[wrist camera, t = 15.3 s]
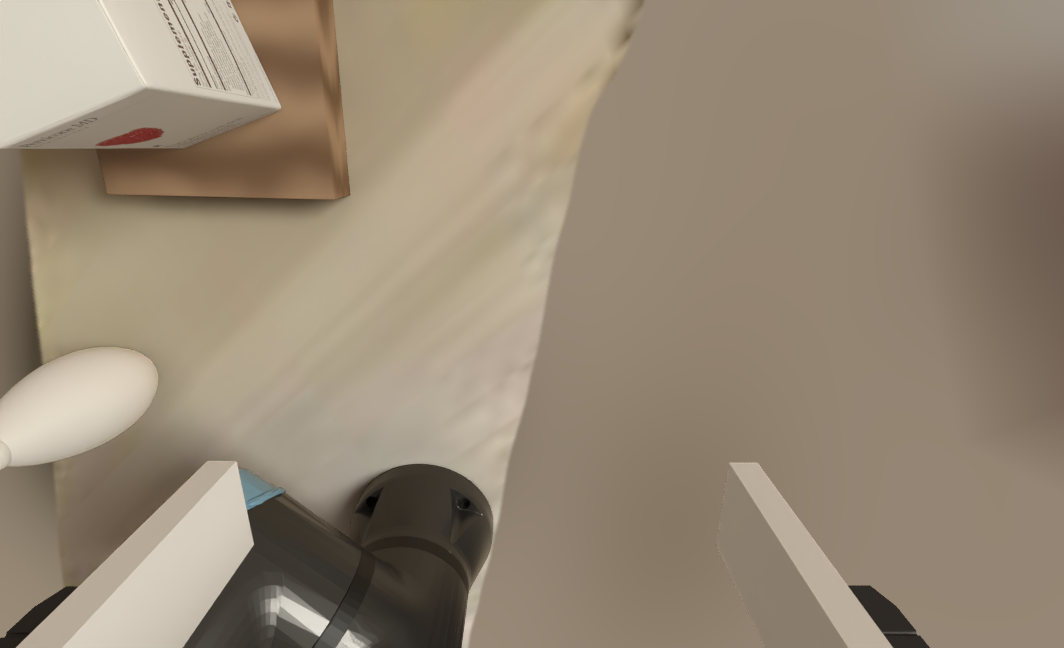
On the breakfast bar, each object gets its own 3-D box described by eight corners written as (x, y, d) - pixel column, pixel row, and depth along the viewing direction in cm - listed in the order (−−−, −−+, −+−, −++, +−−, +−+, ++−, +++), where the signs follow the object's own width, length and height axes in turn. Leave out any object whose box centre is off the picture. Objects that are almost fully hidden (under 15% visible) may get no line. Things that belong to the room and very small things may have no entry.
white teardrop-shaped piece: (102, 319, 48) (-130, 413, 31) (186, 344, 49) (5, 448, 32) (97, 390, 51) (-121, 512, 34) (177, 412, 52) (5, 542, 35)
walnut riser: (350, 195, 45) (333, 199, 41) (143, 190, 44) (107, 194, 41) (328, -48, 39) (306, -69, 35) (89, -55, 39) (41, -77, 35)
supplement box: (182, 152, 40) (-10, 155, 26) (115, 29, 37) (-142, -45, 23) (286, 111, 39) (147, 90, 25) (226, -19, 36) (30, -126, 22)
